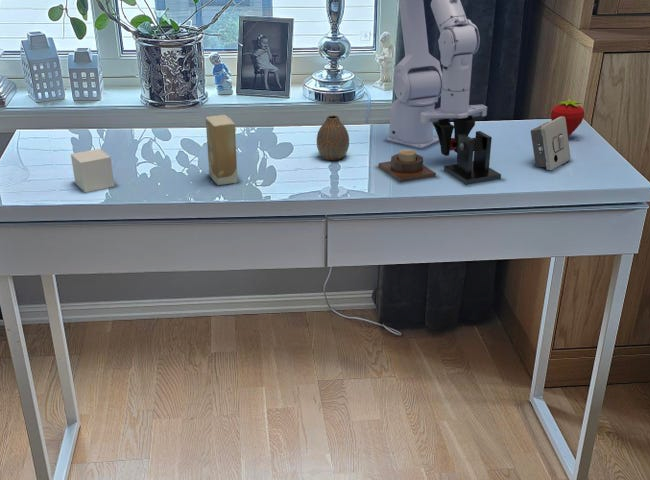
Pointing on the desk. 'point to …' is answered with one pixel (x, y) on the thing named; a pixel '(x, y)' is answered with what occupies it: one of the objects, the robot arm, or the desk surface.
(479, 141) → the red knob lever
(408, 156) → the button
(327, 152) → the vase
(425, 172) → the control block
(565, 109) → the strawberry
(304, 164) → the desk surface
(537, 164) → the electrical switch
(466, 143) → the black lever base
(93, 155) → the beige cube
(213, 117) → the cosmetic box
